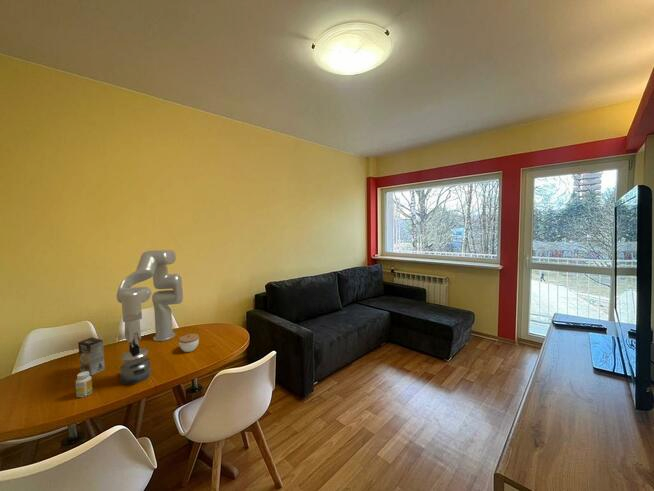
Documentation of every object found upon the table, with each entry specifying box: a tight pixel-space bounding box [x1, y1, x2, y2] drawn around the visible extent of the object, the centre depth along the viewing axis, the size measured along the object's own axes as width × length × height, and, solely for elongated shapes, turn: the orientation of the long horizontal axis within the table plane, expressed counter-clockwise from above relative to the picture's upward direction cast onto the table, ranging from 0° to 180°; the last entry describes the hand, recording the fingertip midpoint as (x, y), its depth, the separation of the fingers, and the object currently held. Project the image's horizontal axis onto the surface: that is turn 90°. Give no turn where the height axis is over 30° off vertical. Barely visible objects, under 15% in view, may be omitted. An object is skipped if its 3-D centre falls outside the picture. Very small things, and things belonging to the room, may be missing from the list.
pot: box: [119, 357, 152, 385], centre depth 133 cm, size 16×12×7 cm
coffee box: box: [78, 336, 106, 376], centre depth 138 cm, size 9×6×16 cm
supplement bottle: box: [75, 371, 93, 398], centre depth 120 cm, size 5×5×10 cm
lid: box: [120, 344, 149, 362], centre depth 132 cm, size 11×11×6 cm
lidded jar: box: [178, 333, 200, 353], centre depth 162 cm, size 11×11×9 cm
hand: (134, 352), depth 132 cm, fingers closed on lid, 2 cm apart
